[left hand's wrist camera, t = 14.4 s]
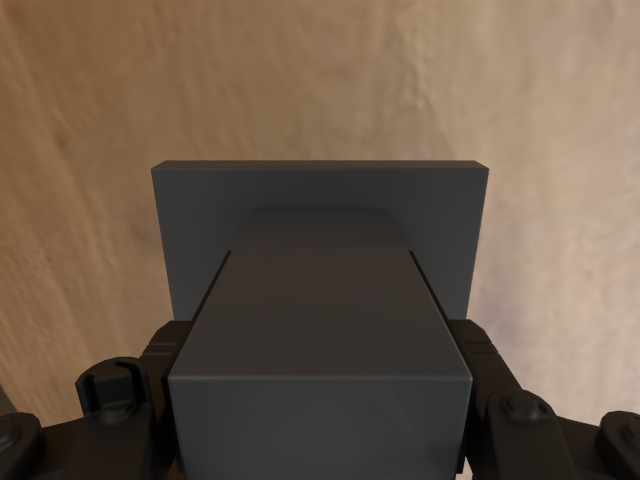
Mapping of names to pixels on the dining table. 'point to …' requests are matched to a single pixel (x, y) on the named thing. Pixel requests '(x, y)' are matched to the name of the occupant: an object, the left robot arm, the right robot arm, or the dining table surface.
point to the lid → (320, 315)
